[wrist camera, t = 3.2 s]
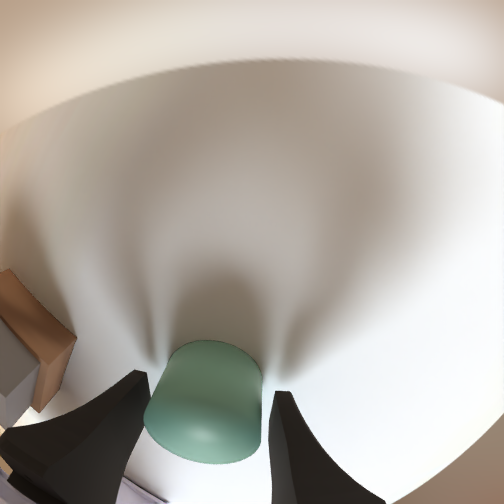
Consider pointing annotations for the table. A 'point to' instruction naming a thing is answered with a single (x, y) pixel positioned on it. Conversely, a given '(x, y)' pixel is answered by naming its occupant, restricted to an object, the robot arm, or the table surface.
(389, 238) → the table surface
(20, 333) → the walnut block
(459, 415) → the table surface
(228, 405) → the green cylinder
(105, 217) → the table surface
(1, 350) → the gray block
